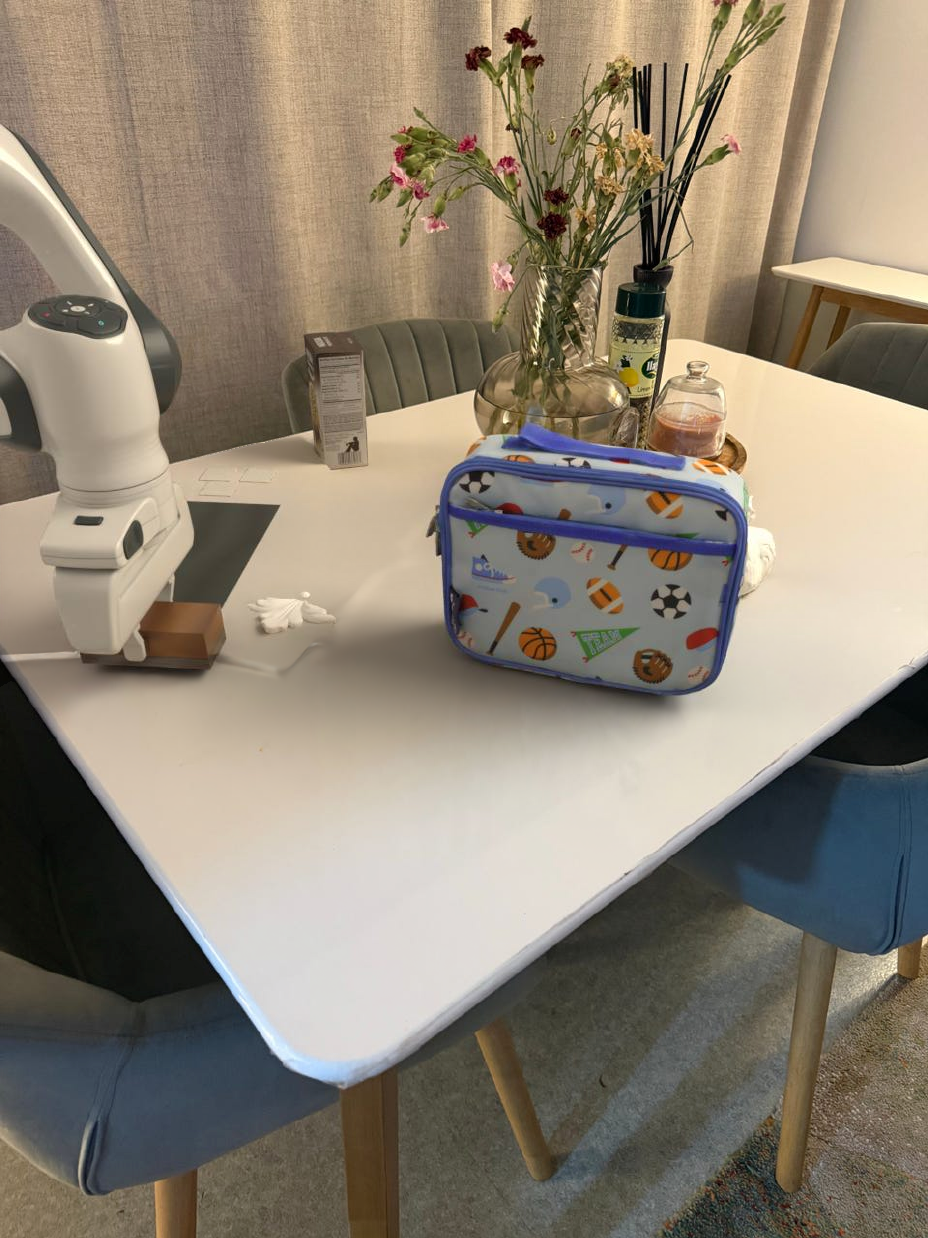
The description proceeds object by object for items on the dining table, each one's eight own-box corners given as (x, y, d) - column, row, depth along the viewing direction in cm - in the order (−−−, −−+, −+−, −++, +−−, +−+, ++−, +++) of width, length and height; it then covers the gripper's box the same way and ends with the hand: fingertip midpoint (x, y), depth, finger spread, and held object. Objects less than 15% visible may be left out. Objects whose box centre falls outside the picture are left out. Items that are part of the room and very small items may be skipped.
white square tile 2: (239, 487, 116) (238, 480, 115) (249, 475, 119) (248, 468, 119) (269, 489, 115) (268, 482, 115) (278, 476, 119) (277, 469, 118)
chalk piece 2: (199, 501, 112) (198, 494, 112) (209, 488, 116) (208, 481, 115) (231, 502, 112) (229, 495, 111) (240, 489, 115) (239, 482, 115)
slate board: (56, 613, 90) (53, 605, 90) (150, 502, 112) (149, 495, 111) (229, 621, 89) (228, 614, 89) (291, 508, 111) (290, 501, 110)
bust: (755, 585, 100) (722, 491, 100) (809, 571, 94) (773, 471, 94) (681, 617, 95) (645, 517, 94) (732, 605, 88) (693, 498, 88)
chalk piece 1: (199, 486, 116) (198, 479, 115) (209, 474, 119) (208, 467, 119) (230, 487, 116) (228, 480, 115) (238, 475, 119) (237, 468, 119)
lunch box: (417, 664, 83) (412, 442, 71) (450, 608, 92) (450, 401, 80) (717, 720, 77) (767, 486, 65) (723, 653, 85) (768, 436, 73)
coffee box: (312, 446, 128) (302, 332, 119) (356, 441, 129) (349, 329, 120) (323, 471, 120) (313, 352, 112) (370, 465, 122) (363, 348, 113)
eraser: (82, 663, 81) (71, 627, 79) (104, 633, 86) (95, 597, 83) (210, 670, 81) (203, 633, 79) (226, 638, 85) (220, 603, 83)
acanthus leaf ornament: (337, 628, 88) (335, 612, 87) (271, 648, 85) (269, 632, 84) (307, 593, 94) (306, 578, 93) (244, 611, 91) (242, 596, 90)
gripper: (132, 452, 84) (158, 578, 91) (26, 558, 66) (70, 702, 74) (197, 454, 83) (218, 581, 91) (108, 561, 66) (143, 706, 74)
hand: (151, 637), depth 82 cm, fingers closed on eraser, 5 cm apart
